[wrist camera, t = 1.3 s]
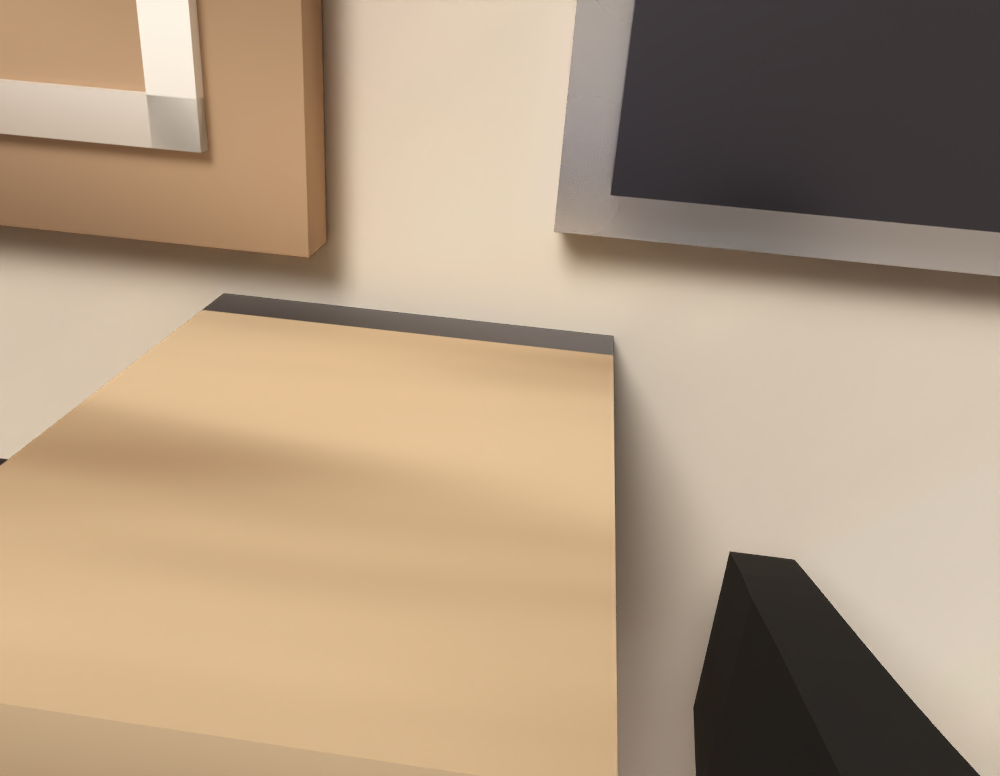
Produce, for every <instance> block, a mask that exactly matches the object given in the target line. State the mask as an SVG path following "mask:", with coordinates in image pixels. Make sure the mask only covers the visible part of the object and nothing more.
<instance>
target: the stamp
mask: <svg viewBox="0 0 1000 776" xmlns="http://www.w3.org/2000/svg"><path fill="white" fill-rule="evenodd" d="M0 776H618V758H617V661H616V563H615V466H614V369H613V336H609V335H600V334H591V333H582V332H573V331H564V330H555V329H545V328H536V327H527V326H518V325H509V324H500V323H491V322H481V321H472V320H463V319H454V318H445V317H436V316H427V315H417V314H408V313H399V312H390V311H381V310H372V309H363V308H353V307H344V306H335V305H326V304H317V303H308V302H299V301H289V300H280V299H271V298H262V297H253V296H244V295H235V294H225V293H224V294H222V295H221V296H220V297H218V298H217V299H216V300H215V301H213V302H212V303H211V304H209V305H208V306H207V307H205V308H204V309H203V310H202V311H200V312H199V313H198V314H196V315H195V316H194V317H192V318H191V319H190V320H189V321H187V322H186V323H185V324H183V325H182V326H181V327H179V328H178V329H177V330H176V331H174V332H173V333H172V334H170V335H169V336H168V337H167V338H165V339H164V340H163V341H161V342H160V343H159V344H157V345H156V346H155V347H154V348H152V349H151V350H150V351H148V352H147V353H146V354H144V355H143V356H142V357H141V358H139V359H138V360H137V361H135V362H134V363H133V364H131V365H130V366H129V367H128V368H126V369H125V370H124V371H122V372H121V373H120V374H119V375H117V376H116V377H115V378H113V379H112V380H111V381H109V382H108V383H107V384H106V385H104V386H103V387H102V388H100V389H99V390H98V391H96V392H95V393H94V394H93V395H91V396H90V397H89V398H87V399H86V400H85V401H83V402H82V403H81V404H80V405H78V406H77V407H76V408H74V409H73V410H72V411H71V412H69V413H68V414H67V415H65V416H64V417H63V418H61V419H60V420H59V421H58V422H56V423H55V424H54V425H52V426H51V427H50V428H48V429H47V430H46V431H45V432H43V433H42V434H41V435H39V436H38V437H37V438H35V439H34V440H33V441H32V442H30V443H29V444H28V445H26V446H25V447H24V448H22V449H21V450H20V451H19V452H17V453H16V454H15V455H13V456H12V457H11V458H10V459H8V460H7V461H6V462H4V463H3V464H2V465H0Z"/></svg>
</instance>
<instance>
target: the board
mask: <svg viewBox="0 0 1000 776" xmlns="http://www.w3.org/2000/svg"><path fill="white" fill-rule="evenodd" d="M0 225H3V226H13V227H22V228H32V229H41V230H51V231H60V232H70V233H79V234H89V235H99V236H108V237H118V238H127V239H137V240H146V241H156V242H165V243H175V244H184V245H194V246H203V247H213V248H222V249H232V250H242V251H251V252H261V253H270V254H280V255H289V256H299V257H308V258H309V257H310V256H311V255H312V254H313V253H315V252H316V251H317V250H318V249H319V248H320V247H321V246H323V245H324V244H325V243H326V196H325V147H324V98H323V49H322V1H321V0H0Z"/></svg>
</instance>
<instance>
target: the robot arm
mask: <svg viewBox="0 0 1000 776" xmlns="http://www.w3.org/2000/svg"><path fill="white" fill-rule="evenodd" d="M7 460H8V459H0V465H2V464H3V463H4V462H6V461H7ZM694 735H695V762H696V776H980V775H979V774H978V773H977V772H976V771H975V770H974V769H973V768H972V767H971V765H970V764H969V763H968V762H967V761H966V760H965V759H964V758H963V757H962V756H961V755H960V753H959V752H958V751H957V750H956V749H955V748H954V747H953V746H952V745H951V744H950V743H949V741H948V740H947V739H946V738H945V737H944V736H943V735H942V734H941V732H940V731H939V730H938V729H937V728H936V727H935V726H934V725H933V724H932V722H931V721H930V720H929V719H928V718H927V717H926V716H925V714H924V713H923V712H922V711H921V710H920V709H919V708H918V706H917V705H916V704H915V703H914V702H913V701H912V700H911V698H910V697H909V696H908V695H907V694H906V693H905V692H904V690H903V689H902V688H901V687H900V686H899V685H898V683H897V682H896V681H895V680H894V679H893V677H892V676H891V675H890V674H889V673H888V672H887V670H886V669H885V668H884V667H883V666H882V665H881V663H880V662H879V661H878V660H877V659H876V657H875V656H874V655H873V654H872V653H871V651H870V650H869V649H868V648H867V647H866V645H865V644H864V643H863V642H862V641H861V639H860V638H859V637H858V636H857V635H856V633H855V632H854V631H853V630H852V629H851V627H850V626H849V625H848V624H847V622H846V621H845V620H844V619H843V618H842V616H841V615H840V614H839V613H838V611H837V610H836V609H835V608H834V607H833V605H832V604H831V603H830V602H829V600H828V599H827V598H826V597H825V596H824V594H823V593H822V592H821V591H820V589H819V588H818V587H817V586H816V585H815V583H814V582H813V581H812V580H811V579H810V577H809V576H808V575H807V574H806V573H805V571H804V570H803V569H802V568H801V567H800V566H799V564H798V563H797V562H796V561H795V560H792V559H784V558H777V557H769V556H761V555H753V554H745V553H737V552H730V553H729V557H728V562H727V566H726V570H725V574H724V579H723V583H722V587H721V592H720V596H719V600H718V605H717V609H716V613H715V617H714V622H713V626H712V630H711V635H710V639H709V643H708V648H707V652H706V656H705V660H704V665H703V669H702V673H701V678H700V682H699V686H698V691H697V695H696V699H695V703H694Z"/></svg>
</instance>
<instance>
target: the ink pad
mask: <svg viewBox="0 0 1000 776" xmlns="http://www.w3.org/2000/svg"><path fill="white" fill-rule="evenodd" d="M554 232H561V233H570V234H580V235H590V236H600V237H610V238H620V239H630V240H640V241H650V242H660V243H670V244H680V245H690V246H700V247H710V248H720V249H730V250H740V251H750V252H760V253H770V254H780V255H790V256H800V257H810V258H820V259H830V260H840V261H850V262H860V263H870V264H880V265H890V266H900V267H910V268H920V269H930V270H940V271H950V272H960V273H970V274H980V275H990V276H1000V0H577V7H576V17H575V27H574V37H573V47H572V57H571V67H570V77H569V87H568V97H567V107H566V117H565V127H564V138H563V148H562V158H561V168H560V178H559V188H558V198H557V208H556V218H555V228H554Z"/></svg>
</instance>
